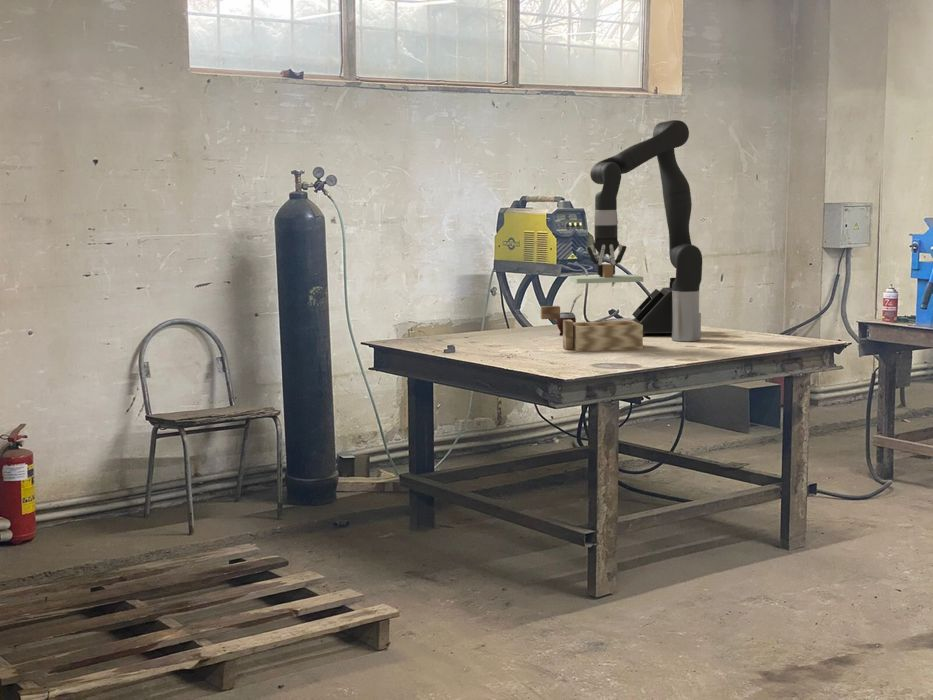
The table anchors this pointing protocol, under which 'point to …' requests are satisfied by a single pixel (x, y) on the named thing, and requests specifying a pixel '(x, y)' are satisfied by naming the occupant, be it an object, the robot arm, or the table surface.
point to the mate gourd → (566, 317)
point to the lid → (606, 277)
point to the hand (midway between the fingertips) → (606, 276)
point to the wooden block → (550, 312)
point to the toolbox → (602, 336)
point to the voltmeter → (656, 311)
